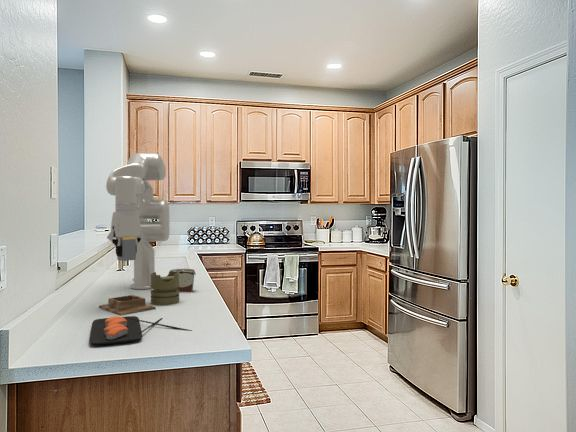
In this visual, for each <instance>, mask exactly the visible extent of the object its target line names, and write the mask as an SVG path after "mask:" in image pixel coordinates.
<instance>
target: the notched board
mask: <svg viewBox="0 0 576 432" xmlns="http://www.w3.org/2000/svg"><path fill="white" fill-rule="evenodd" d="M107 299H108V300H107V301H108V303H107V304H101V305H100V304H99V305H98V308H99V309H101V310H104V311H106V312H110V313H113V314H115V315H118V316H123V315H124V316H125V315H129V314H137V313H141V312H147V311H152V310H156V306H155V305H152V304H147V303H146V298H145V297H142V296H139V295H135V294H129V295H123V296H115V297H110V298H107Z"/></svg>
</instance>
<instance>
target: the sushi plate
mask: <svg viewBox="0 0 576 432" xmlns="http://www.w3.org/2000/svg"><path fill="white" fill-rule="evenodd" d="M163 319H164V318H163V317H160V318H159V319H158V320H156V321H155V322H153V321H146V320H141V319H140V318H139V317H138V316H136V315H134V316H133V315H132V316H131V315H130V316H121V315H118V316H117V315H115V316H110V317H104V318H97V319H94V320H93V321H92V322H91V323H92V324H91V329H90V332H89V333H90V334H89V340H88V341H89V344H91V345H109V344H110V345H111V344H121V343H128V342H134V341H139V340H141V339H142V338H143V332H145V331H146V330H148V329H150V328H152V327H153V326H155V325H156V326H159V327H165V328H168V329H169V328H170V329H172V330H173V329H174V330H178V331H190V332H193V330H192V329H187V328H182V327H178V326H177V327H176V326H173V325H167V324H162V323H160V322H161V321H162V320H163ZM140 322H142V323H148V324H151V325H149V326H148V327H146V328H144V329H143V330H142V327H141V323H140Z"/></svg>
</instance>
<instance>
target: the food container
mask: <svg viewBox="0 0 576 432" xmlns="http://www.w3.org/2000/svg"><path fill="white" fill-rule="evenodd" d="M169 271H176V272H179V287H178V288H177V289H179V293H193V292H194V283H195V282H194V281H195V276H196V271H195V269H193V268H174V269H170V270H169Z"/></svg>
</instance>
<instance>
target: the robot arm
mask: <svg viewBox="0 0 576 432" xmlns="http://www.w3.org/2000/svg"><path fill="white" fill-rule="evenodd" d="M166 171H167V170H166V166H165V163H164V160H163V158H162V156H161V155H160V154H159V153H157V152H155V153H154V152H135V153H133V154H132V155H131V156H130V157H129V159H128V160H127V164H126V165H124V166H121V167H118V168H116V169H114V170H112V171H111V172H110V173H109V176H108V178H107V180H106V186H105V188H106V191H107V193H108V194H109V195H111V196H115V203H114V204H115V211H113V212H112V216H111V222H110V223H111V225H110V232H109V233H108V235H107V236H106V239H107V240H108V241H110V242H111V243H112V244H113V245H114V246H115V254H116V257H117V256H119V257H121V256H122V246H121V241H122V237H133V236H136V260H133V278H132V281H133V284H130V289H132V290H152V288H151V273H153V272H156V270H155V262H156V261H155V250H154V248H153V246H152V245H151V243H152V242H166V241H168V240H169V238H170V229H171V228H170V205H169V202H168V201H167V200H165V199H161V198H157V199H155V198H154V188H153V186H152V185H151V184H150V182H148V181H163V180H164V179H165V178H166V174H167V172H166ZM140 219H142V220H159V221H140Z"/></svg>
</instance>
